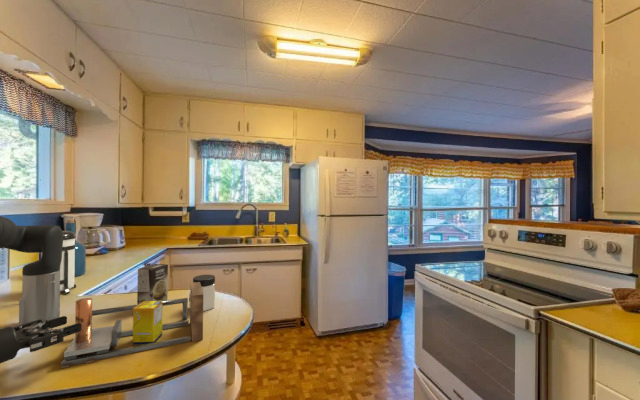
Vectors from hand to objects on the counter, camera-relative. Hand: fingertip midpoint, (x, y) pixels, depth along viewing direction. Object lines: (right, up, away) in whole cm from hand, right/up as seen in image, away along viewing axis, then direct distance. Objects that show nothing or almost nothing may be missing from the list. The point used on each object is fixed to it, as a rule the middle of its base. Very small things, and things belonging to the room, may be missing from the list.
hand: (73, 323), depth 77 cm
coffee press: (-49, -8, +48) cm, 70 cm away
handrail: (+7, -9, +17) cm, 21 cm away
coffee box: (+1, -9, +35) cm, 36 cm away
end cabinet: (+27, -9, +15) cm, 32 cm away
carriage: (+4, -8, +3) cm, 9 cm away
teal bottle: (-68, -7, +76) cm, 102 cm away
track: (+12, -9, +8) cm, 17 cm away
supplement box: (+15, -9, +9) cm, 20 cm away
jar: (+21, -9, +35) cm, 42 cm away
